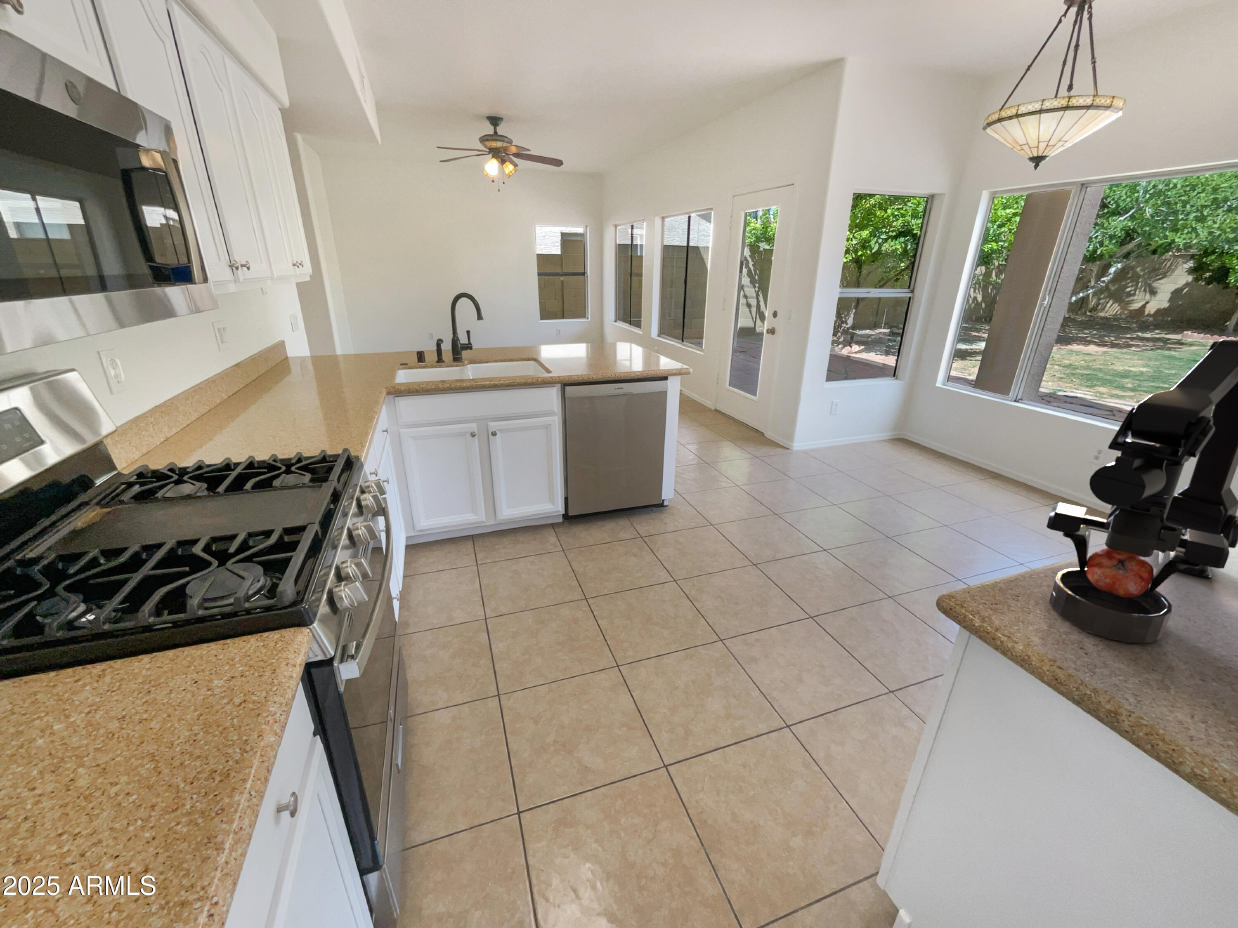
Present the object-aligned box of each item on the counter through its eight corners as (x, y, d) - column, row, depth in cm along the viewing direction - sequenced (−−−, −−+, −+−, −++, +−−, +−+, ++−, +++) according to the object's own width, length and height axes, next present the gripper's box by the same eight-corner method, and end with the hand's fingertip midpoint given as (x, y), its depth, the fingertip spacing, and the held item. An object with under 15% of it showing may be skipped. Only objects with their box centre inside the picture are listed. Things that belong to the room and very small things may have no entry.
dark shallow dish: (1055, 584, 90) (1062, 559, 88) (1162, 615, 81) (1172, 588, 79) (1042, 619, 81) (1050, 592, 79) (1160, 658, 72) (1171, 629, 70)
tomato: (1079, 585, 84) (1069, 569, 78) (1106, 548, 84) (1098, 530, 78) (1136, 612, 78) (1130, 597, 72) (1166, 573, 78) (1163, 555, 72)
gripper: (1053, 490, 74) (1029, 581, 80) (1250, 528, 62) (1206, 633, 67) (1064, 468, 82) (1041, 553, 87) (1243, 498, 69) (1203, 596, 74)
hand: (1114, 581), depth 79 cm, fingers closed on tomato, 7 cm apart
